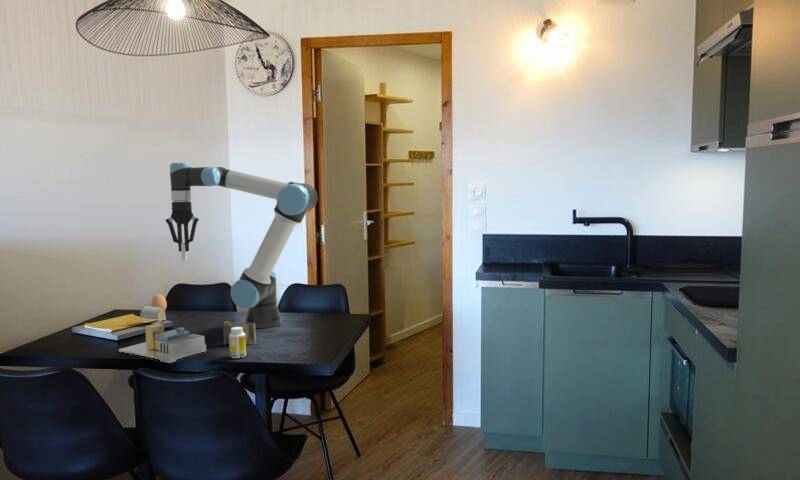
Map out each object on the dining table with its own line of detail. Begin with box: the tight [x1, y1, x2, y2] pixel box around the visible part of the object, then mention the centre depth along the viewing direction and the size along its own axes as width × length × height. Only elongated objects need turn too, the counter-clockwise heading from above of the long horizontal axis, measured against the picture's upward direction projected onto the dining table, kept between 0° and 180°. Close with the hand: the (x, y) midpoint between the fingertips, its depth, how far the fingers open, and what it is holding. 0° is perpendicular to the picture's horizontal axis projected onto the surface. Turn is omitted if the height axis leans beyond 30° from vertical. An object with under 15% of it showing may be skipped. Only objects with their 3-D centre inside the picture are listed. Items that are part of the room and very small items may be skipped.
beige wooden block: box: [144, 323, 166, 350], centre depth 238 cm, size 11×5×8 cm, turn 57°
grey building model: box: [118, 326, 207, 364], centre depth 238 cm, size 28×16×8 cm, turn 57°
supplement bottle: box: [228, 327, 247, 359], centre depth 230 cm, size 6×6×10 cm
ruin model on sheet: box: [222, 320, 257, 346], centre depth 248 cm, size 11×3×10 cm, turn 96°
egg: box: [150, 293, 168, 312], centre depth 302 cm, size 7×7×9 cm
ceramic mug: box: [139, 305, 167, 321], centre depth 284 cm, size 11×8×8 cm
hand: (184, 259), depth 267 cm, fingers closed
